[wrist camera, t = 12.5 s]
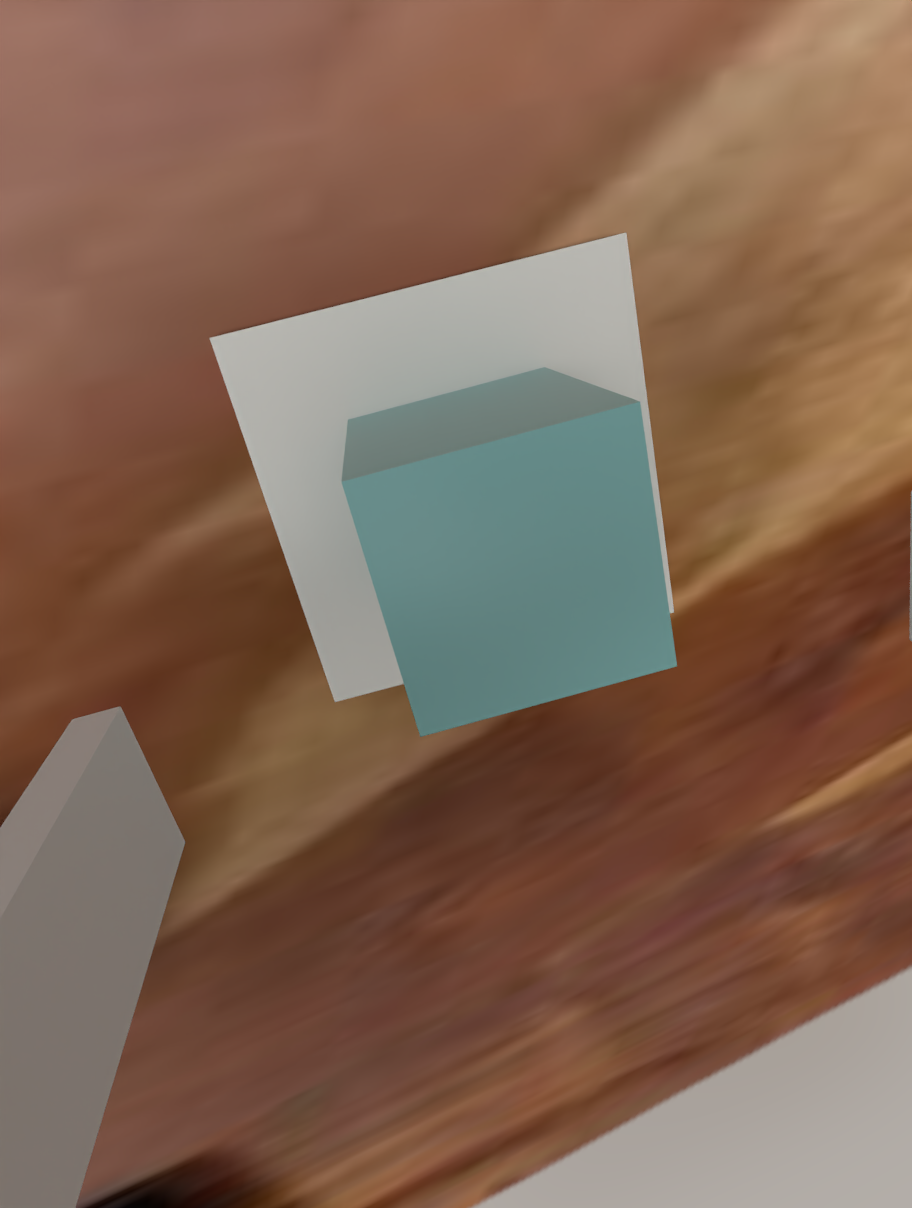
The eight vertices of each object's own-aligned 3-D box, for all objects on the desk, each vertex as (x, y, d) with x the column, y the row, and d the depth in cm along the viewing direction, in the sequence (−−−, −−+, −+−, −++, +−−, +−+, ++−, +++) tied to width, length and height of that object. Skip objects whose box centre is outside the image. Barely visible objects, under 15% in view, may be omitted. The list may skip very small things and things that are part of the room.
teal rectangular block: (401, 601, 24) (420, 736, 17) (347, 419, 22) (341, 481, 14) (579, 553, 24) (677, 666, 17) (544, 366, 22) (639, 401, 14)
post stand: (335, 688, 26) (325, 838, 19) (215, 336, 22) (141, 354, 14) (663, 601, 27) (779, 716, 19) (614, 235, 22) (744, 202, 14)
